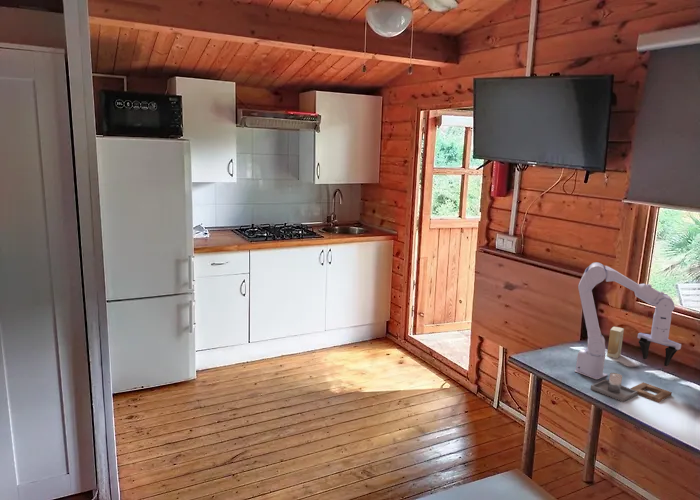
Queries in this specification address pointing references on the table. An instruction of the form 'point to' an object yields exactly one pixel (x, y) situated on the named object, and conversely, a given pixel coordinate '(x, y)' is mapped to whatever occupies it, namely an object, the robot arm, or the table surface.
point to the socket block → (658, 397)
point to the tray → (603, 388)
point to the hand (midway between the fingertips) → (655, 361)
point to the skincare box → (615, 342)
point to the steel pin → (615, 382)
